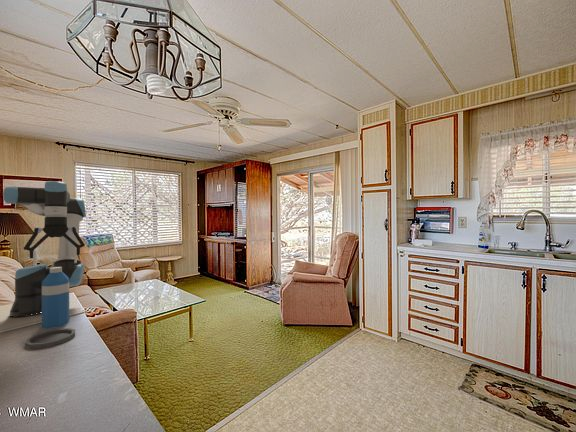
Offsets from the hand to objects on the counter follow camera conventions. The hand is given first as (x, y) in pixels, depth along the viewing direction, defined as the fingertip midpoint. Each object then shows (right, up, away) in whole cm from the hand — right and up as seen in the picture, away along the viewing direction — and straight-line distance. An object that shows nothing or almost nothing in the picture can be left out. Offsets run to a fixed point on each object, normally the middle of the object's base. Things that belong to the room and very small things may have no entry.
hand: (56, 264), depth 117 cm
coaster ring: (+13, -26, -16) cm, 33 cm away
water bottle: (0, -27, 0) cm, 27 cm away
